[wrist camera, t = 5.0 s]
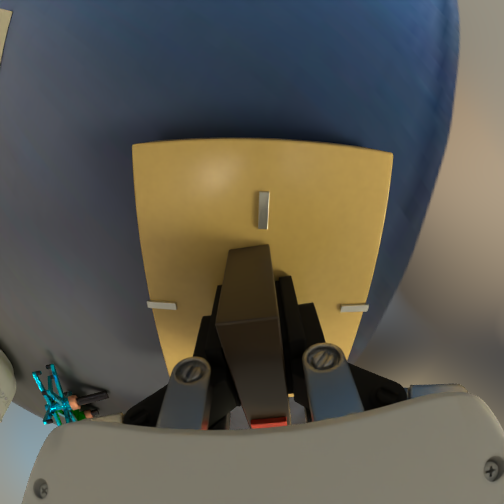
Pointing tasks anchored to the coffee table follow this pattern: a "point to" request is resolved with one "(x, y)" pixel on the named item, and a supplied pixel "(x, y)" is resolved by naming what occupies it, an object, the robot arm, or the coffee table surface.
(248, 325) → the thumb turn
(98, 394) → the stick construction toy
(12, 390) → the teacup
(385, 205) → the plate
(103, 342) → the coffee table surface
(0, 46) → the box
